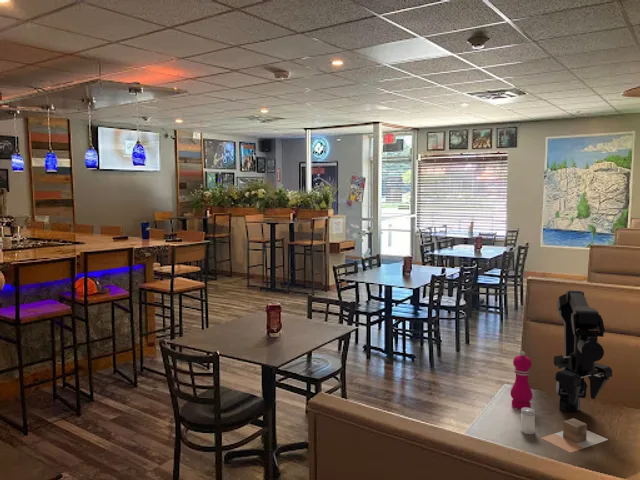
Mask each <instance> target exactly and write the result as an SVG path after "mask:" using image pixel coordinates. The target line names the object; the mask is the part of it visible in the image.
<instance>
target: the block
mask: <svg viewBox="0 0 640 480" xmlns="http://www.w3.org/2000/svg"><path fill="white" fill-rule="evenodd" d="M562 422H563V423H562V424H563V426H562V427H563V429H562V431H563V437H564V438H566V439H568V440H570V441H572V442H574V443H576V444H577V443H580V442H583V441H586V436H587V430H588V429H587V428H588V425H587V424H588V423H585V422H583V421H580V420H578V419H577V418H574V417H573V418H570V419H567V420H566V419H565V420H563V421H562Z"/></svg>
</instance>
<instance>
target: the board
mask: <svg viewBox="0 0 640 480" xmlns="http://www.w3.org/2000/svg"><path fill="white" fill-rule="evenodd" d="M541 439H542V440H545V441H546V442H548V443H550V444H553V445H554V446H556V447H558V448H560V449H561V450H564V451H566V452H569V453H570V454H571V453H574V452H578V451H581V450H583V449H586V448H588V447H592V446H594V445H597V444H600V443H603V442H606V441H608V440H609V439H608V438H606V437H604V436H601V435H598V434H597V433H595V432H592V431H590V430H588V429H587V436H586V441H583V442H580V443H577V444H576V443H574V442H572V441H570V440H568V439H566V438H564V437H563V430H561V431H558V432H556V433H552V434H549V435H546V436H543V437H541Z"/></svg>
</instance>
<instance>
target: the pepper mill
mask: <svg viewBox="0 0 640 480" xmlns="http://www.w3.org/2000/svg"><path fill="white" fill-rule="evenodd" d="M512 360H513V361H512V364H513V366H514V374H515V380H514V383H513V385H512V387H511V389H510V397H511V399H512V400H511V407H513V408H514V409H515V410H520V411H521V408H524V407H527V408H531V407H532V406H531V405H532V403H531V402H530V401H532V399H533V392H532V389H531V387H530V384H529V375H530V374H531V373H530V369H531V368H532V361H531V359H530V357H529V356H527V355H526V352H525V351H523V350H522V351H520V353H519V355H516V356H515V357H514V358H513V359H512Z"/></svg>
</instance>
